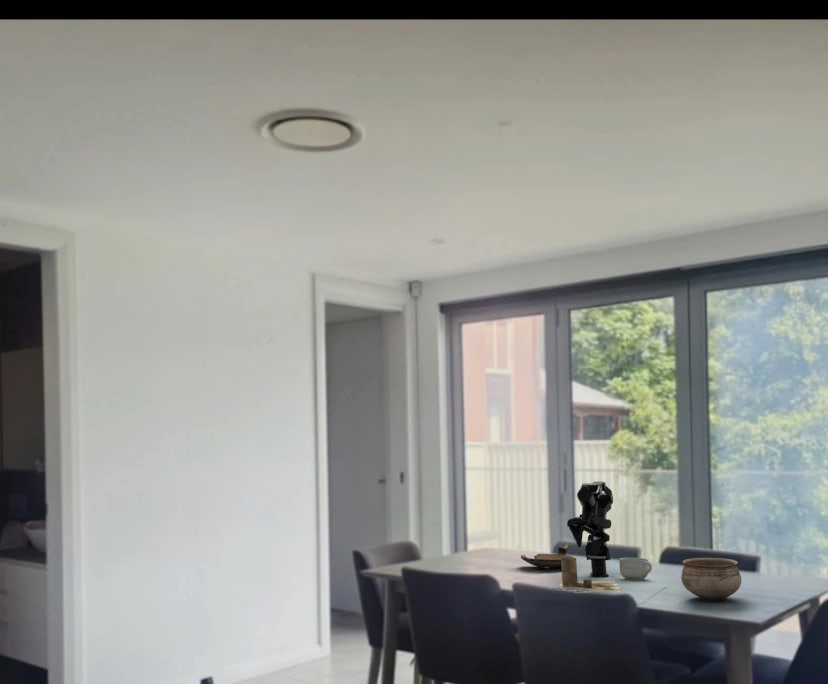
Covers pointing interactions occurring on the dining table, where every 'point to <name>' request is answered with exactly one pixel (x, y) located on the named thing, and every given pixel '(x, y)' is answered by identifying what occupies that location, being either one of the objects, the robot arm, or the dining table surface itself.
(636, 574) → the teacup
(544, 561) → the oil lamp
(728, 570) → the cooking pot
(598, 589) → the dial board
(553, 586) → the dining table surface
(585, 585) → the brown piece
